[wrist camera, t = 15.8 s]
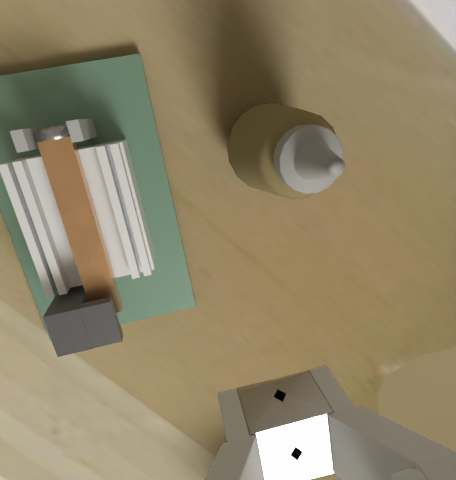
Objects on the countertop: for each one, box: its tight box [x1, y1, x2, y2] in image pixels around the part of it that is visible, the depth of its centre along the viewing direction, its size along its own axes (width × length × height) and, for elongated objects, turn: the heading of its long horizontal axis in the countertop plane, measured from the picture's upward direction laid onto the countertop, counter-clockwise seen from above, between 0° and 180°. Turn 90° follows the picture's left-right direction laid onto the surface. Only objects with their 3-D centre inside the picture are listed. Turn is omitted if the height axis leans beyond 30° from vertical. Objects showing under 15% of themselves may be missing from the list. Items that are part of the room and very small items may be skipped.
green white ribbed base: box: [0, 54, 196, 341], centre depth 35 cm, size 26×16×8 cm, turn 10°
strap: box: [35, 123, 123, 313], centre depth 33 cm, size 17×3×1 cm, turn 10°
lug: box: [43, 285, 123, 357], centre depth 36 cm, size 4×6×8 cm
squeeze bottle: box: [228, 103, 345, 199], centre depth 31 cm, size 8×8×18 cm
